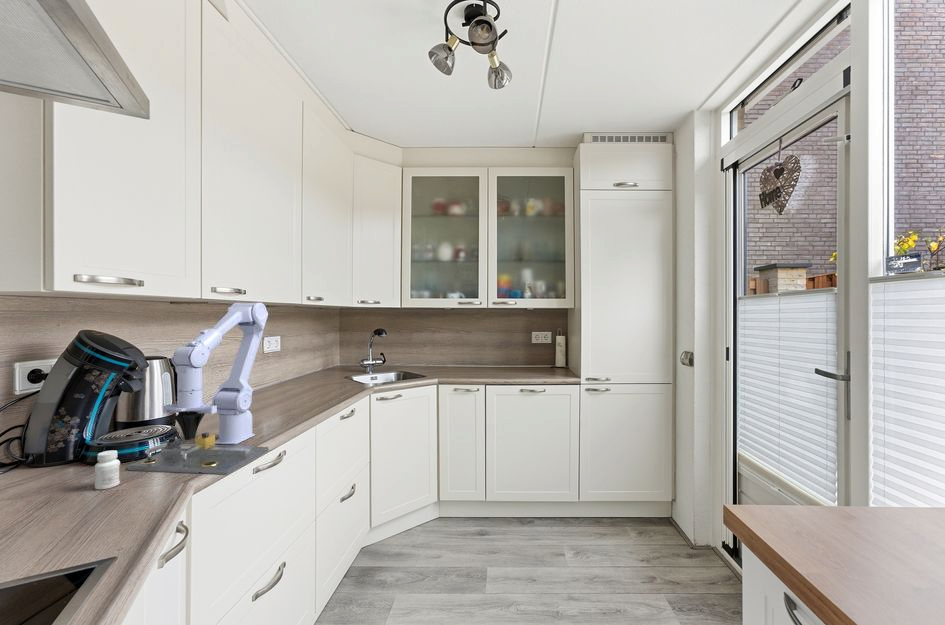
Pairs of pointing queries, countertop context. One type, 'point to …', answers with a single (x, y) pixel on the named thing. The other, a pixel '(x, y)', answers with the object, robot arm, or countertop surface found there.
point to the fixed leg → (164, 446)
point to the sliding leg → (200, 444)
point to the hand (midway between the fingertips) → (189, 439)
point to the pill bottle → (107, 470)
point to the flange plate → (198, 461)
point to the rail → (210, 451)
